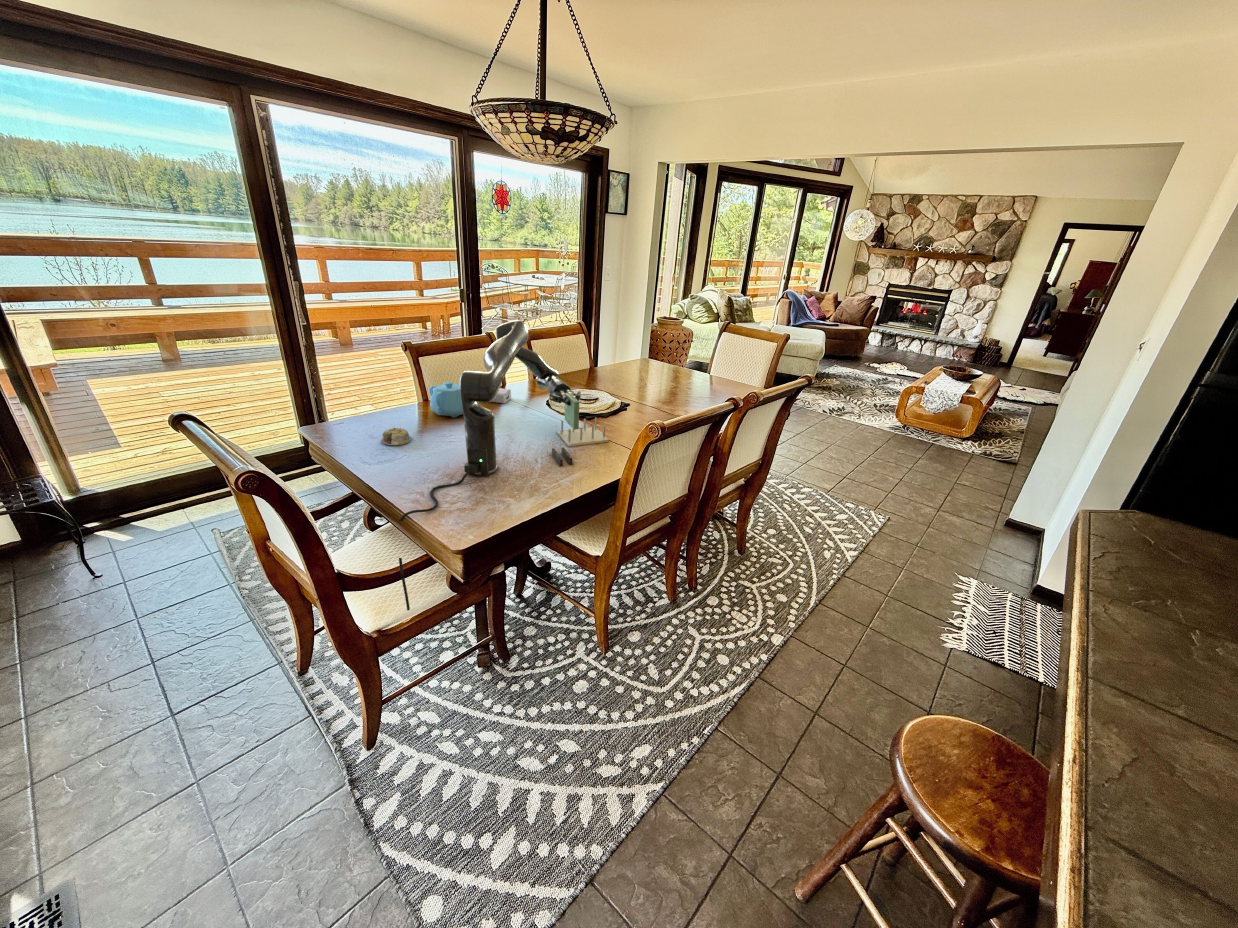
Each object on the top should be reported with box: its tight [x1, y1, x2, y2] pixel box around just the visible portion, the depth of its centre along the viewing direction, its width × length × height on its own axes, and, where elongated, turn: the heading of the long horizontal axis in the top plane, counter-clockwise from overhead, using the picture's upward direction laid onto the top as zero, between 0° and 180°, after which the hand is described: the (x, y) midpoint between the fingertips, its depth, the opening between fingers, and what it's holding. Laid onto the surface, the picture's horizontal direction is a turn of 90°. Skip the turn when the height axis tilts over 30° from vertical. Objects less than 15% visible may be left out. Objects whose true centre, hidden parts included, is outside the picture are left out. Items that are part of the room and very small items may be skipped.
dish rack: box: [557, 417, 610, 447], centre depth 190 cm, size 14×16×6 cm
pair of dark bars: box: [551, 446, 573, 467], centre depth 171 cm, size 10×4×2 cm, turn 24°
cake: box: [381, 427, 412, 446], centre depth 176 cm, size 10×10×5 cm
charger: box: [490, 387, 512, 404], centre depth 225 cm, size 5×9×15 cm
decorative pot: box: [428, 381, 463, 418], centre depth 204 cm, size 16×16×14 cm
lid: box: [564, 393, 580, 430], centre depth 184 cm, size 11×2×11 cm, turn 24°
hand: (572, 403), depth 182 cm, fingers closed on lid, 2 cm apart
